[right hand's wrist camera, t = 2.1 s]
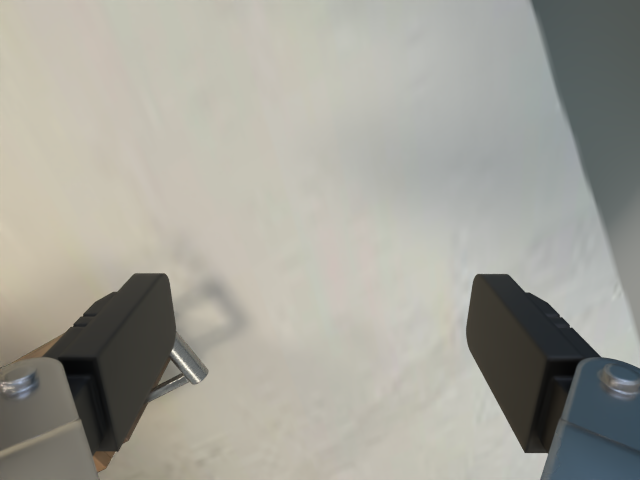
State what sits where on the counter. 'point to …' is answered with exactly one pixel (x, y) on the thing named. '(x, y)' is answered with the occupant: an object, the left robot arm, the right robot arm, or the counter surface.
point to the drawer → (190, 372)
